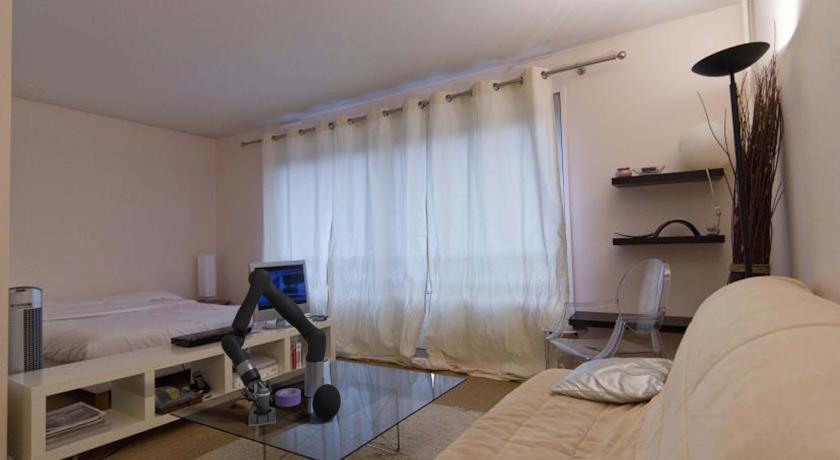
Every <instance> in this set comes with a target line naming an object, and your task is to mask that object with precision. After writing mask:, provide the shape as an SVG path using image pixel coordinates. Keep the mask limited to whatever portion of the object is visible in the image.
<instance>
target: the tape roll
mask: <svg viewBox="0 0 840 460" xmlns="http://www.w3.org/2000/svg"><path fill="white" fill-rule="evenodd" d="M301 395H302V390H301V389H299V388H296V387H288V388H282V389H279V390H277V391H276V392H275V403H274V404H275V405H276V406H277V407H285V408H288V407H289V408H290V407H294V406H298V405H299V404H300V403H301V401H302V399H301V397H302V396H301Z"/></svg>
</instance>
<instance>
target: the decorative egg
mask: <svg viewBox="0 0 840 460" xmlns="http://www.w3.org/2000/svg"><path fill="white" fill-rule="evenodd" d="M341 403H342V398H341V393H340V391H339V390H338V388H337V387H336V386H335V385H333V384H331V383H324V385H322V386H320V387H319V388H318V389H317V390H316V392H315V393H314V396H313V397H312V399H311V405H312V407H311V408H312V412H313V413H314V415H315V417H317V418H318V419H319V420H321V421H330V420H332V419H334V418H335V417H336V416H337V415H338V413H339V411H340V408H341Z"/></svg>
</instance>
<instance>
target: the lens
mask: <svg viewBox="0 0 840 460" xmlns="http://www.w3.org/2000/svg"><path fill="white" fill-rule="evenodd" d="M269 395H270V396H271V393H270V389H268V388H261V389H258V390H257V396H258V398H257V399H259V401H260V402H261V404H262V407H261V408H260V409H258V408H257V407H256V406H255V408H256V414H257V415H263V414H268V413H269V407H270V405H269Z"/></svg>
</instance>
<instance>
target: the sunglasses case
mask: <svg viewBox="0 0 840 460" xmlns="http://www.w3.org/2000/svg"><path fill="white" fill-rule="evenodd" d="M248 397H249V396H248ZM249 398H250V397H249ZM253 406H255V404H254V402H252V401H251V402H248V401H247V399H246V398H245V397H244V396H243V394H242V395H241V396H240V397H239V398H237V399H236V400H235V401H234V402H233V403H232V407H231V408H232V410H252V407H253Z"/></svg>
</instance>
